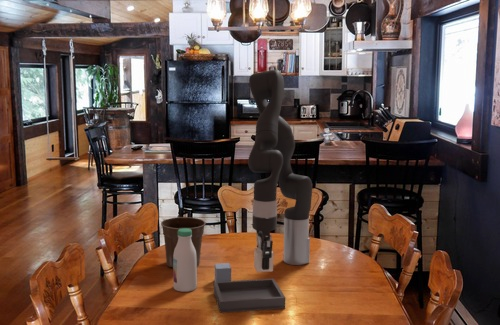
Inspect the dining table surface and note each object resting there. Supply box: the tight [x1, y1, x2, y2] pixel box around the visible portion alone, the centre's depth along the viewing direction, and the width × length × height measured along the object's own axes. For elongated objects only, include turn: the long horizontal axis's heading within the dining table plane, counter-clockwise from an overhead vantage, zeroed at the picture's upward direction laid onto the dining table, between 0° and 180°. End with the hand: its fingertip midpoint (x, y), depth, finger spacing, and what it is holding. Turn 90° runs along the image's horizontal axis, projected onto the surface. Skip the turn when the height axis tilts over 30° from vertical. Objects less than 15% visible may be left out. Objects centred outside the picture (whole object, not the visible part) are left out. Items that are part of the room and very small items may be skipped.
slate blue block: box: [214, 262, 232, 282], centre depth 195 cm, size 5×5×6 cm
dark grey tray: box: [213, 278, 286, 314], centre depth 181 cm, size 20×16×4 cm
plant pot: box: [160, 216, 206, 268], centre depth 212 cm, size 16×16×16 cm
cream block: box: [253, 247, 274, 273], centre depth 180 cm, size 5×5×6 cm
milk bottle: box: [172, 228, 198, 293], centre depth 189 cm, size 8×8×20 cm
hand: (263, 265), depth 180 cm, fingers closed on cream block, 5 cm apart
